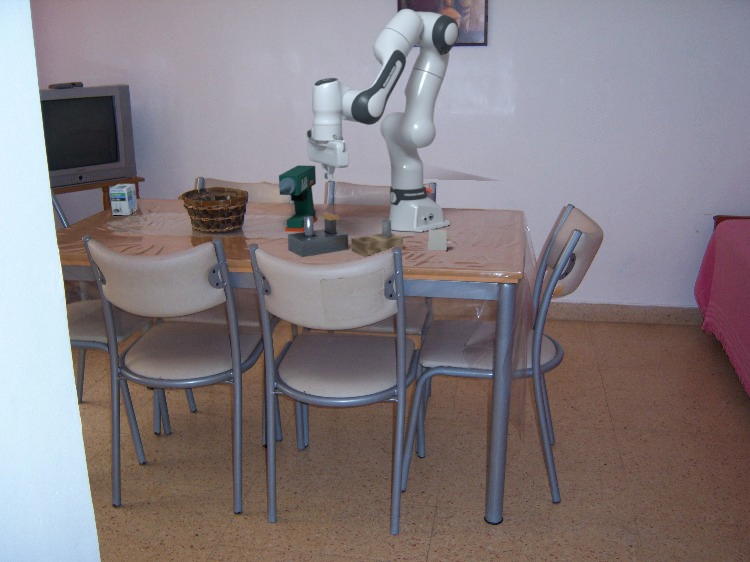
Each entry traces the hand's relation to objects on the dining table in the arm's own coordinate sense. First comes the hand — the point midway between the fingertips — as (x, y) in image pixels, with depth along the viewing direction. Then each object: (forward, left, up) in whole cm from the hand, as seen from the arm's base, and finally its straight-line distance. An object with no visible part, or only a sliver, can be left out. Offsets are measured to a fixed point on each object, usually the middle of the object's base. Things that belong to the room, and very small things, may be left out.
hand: (328, 178), depth 242 cm
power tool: (-2, -28, -22) cm, 36 cm away
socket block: (+4, 0, -22) cm, 22 cm away
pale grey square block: (-26, +22, -23) cm, 41 cm away
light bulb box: (+42, -90, -22) cm, 102 cm away
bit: (+7, 0, -22) cm, 23 cm away
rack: (-11, +11, -22) cm, 27 cm away
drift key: (0, 0, -20) cm, 19 cm away
